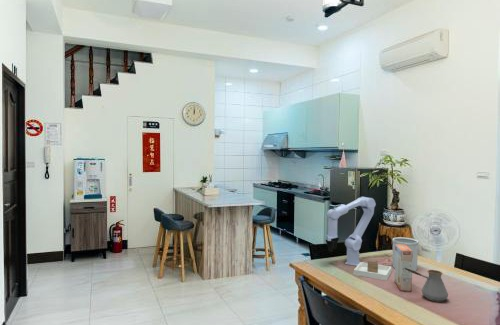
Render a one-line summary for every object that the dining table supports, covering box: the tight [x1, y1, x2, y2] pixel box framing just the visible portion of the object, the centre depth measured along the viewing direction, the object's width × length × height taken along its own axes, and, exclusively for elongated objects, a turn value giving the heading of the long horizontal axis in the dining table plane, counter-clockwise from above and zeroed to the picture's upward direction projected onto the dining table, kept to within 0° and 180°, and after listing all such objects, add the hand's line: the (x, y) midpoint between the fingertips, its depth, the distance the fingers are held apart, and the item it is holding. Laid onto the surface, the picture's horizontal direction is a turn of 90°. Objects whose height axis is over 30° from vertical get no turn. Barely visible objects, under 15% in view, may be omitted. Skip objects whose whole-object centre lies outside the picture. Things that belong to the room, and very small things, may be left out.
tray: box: [353, 261, 393, 281], centre depth 206 cm, size 18×18×3 cm
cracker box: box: [394, 244, 413, 292], centre depth 185 cm, size 14×6×21 cm, turn 168°
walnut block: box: [367, 260, 379, 273], centre depth 206 cm, size 5×5×6 cm
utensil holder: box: [391, 236, 420, 272], centre depth 217 cm, size 15×15×18 cm
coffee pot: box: [403, 268, 449, 302], centre depth 169 cm, size 21×12×15 cm, turn 93°
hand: (332, 250), depth 221 cm, fingers open, 7 cm apart
